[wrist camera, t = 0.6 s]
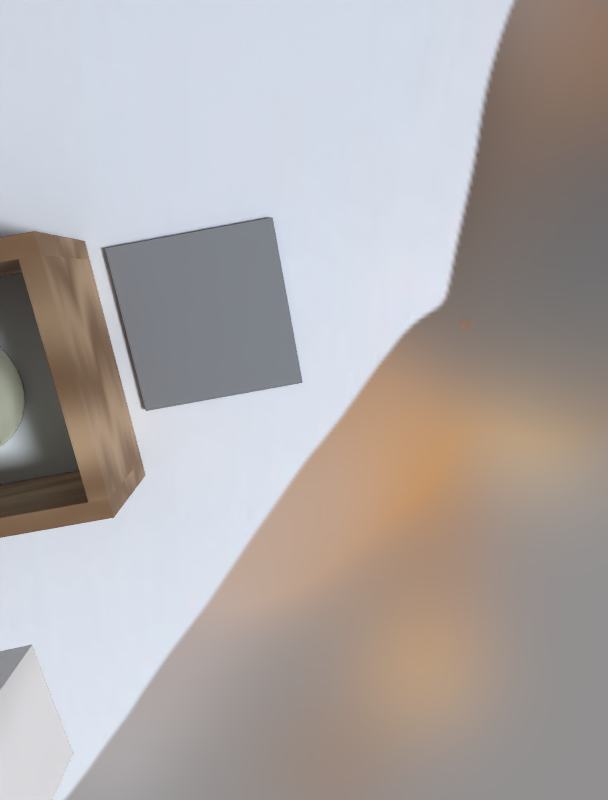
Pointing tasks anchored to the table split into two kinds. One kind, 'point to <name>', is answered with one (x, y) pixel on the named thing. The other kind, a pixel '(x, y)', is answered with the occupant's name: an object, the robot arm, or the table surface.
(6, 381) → the can
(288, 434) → the table surface
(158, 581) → the table surface
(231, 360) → the mat
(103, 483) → the crate
